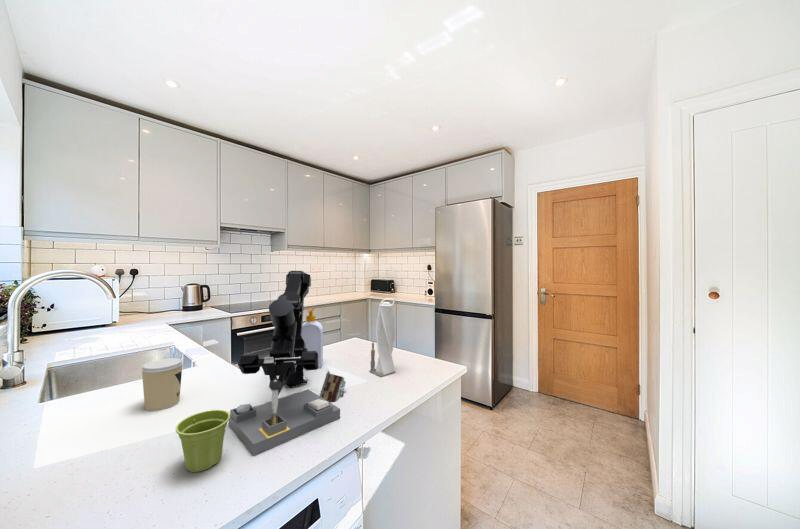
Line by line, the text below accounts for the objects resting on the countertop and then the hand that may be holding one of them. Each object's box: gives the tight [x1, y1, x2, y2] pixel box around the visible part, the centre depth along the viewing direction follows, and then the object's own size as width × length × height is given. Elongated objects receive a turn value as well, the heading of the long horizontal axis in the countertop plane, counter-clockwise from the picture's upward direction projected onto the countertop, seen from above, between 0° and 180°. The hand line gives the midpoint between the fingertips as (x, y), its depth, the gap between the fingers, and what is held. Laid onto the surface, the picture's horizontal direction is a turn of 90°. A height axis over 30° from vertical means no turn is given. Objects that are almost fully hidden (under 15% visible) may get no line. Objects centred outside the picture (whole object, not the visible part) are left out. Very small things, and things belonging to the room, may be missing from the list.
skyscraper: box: [368, 297, 397, 378], centre depth 113 cm, size 8×8×28 cm
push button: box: [236, 403, 251, 415], centre depth 75 cm, size 3×3×1 cm
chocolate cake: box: [319, 370, 347, 403], centre depth 94 cm, size 10×7×12 cm
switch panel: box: [227, 388, 341, 456], centre depth 77 cm, size 17×22×4 cm
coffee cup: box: [140, 357, 184, 412], centre depth 86 cm, size 9×9×12 cm
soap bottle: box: [302, 308, 324, 370], centre depth 118 cm, size 9×7×23 cm
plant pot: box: [175, 409, 230, 473], centre depth 61 cm, size 9×9×9 cm
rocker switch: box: [308, 399, 330, 410], centre depth 79 cm, size 5×3×1 cm, turn 46°
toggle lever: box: [268, 378, 281, 426], centre depth 70 cm, size 3×3×11 cm
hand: (275, 396), depth 71 cm, fingers closed, pressing on toggle lever
